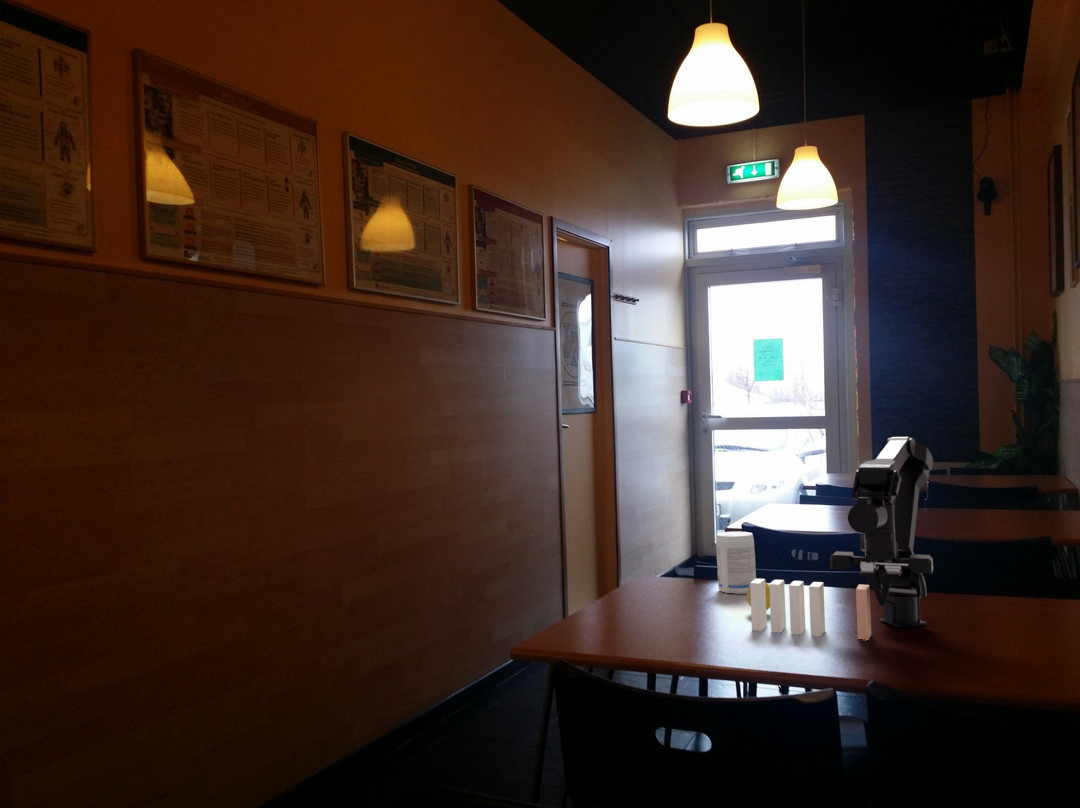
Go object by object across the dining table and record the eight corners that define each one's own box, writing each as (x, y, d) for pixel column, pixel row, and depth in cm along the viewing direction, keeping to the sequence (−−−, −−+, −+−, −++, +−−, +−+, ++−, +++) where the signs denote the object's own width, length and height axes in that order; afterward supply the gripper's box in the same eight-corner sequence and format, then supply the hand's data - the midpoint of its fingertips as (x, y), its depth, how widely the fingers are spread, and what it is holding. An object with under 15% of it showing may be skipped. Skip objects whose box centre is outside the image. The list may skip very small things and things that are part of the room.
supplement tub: (763, 590, 219) (761, 532, 219) (743, 596, 213) (741, 537, 213) (731, 585, 226) (729, 530, 226) (710, 592, 220) (708, 534, 220)
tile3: (805, 629, 180) (803, 581, 180) (800, 634, 175) (798, 585, 176) (795, 628, 181) (793, 580, 181) (790, 633, 176) (788, 585, 177)
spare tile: (871, 634, 174) (869, 585, 174) (868, 640, 169) (866, 589, 170) (860, 633, 175) (858, 584, 175) (857, 639, 170) (855, 589, 170)
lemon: (774, 617, 191) (772, 581, 191) (748, 616, 192) (747, 581, 192) (772, 611, 196) (771, 576, 196) (747, 611, 197) (746, 576, 197)
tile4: (786, 627, 182) (784, 580, 182) (780, 633, 177) (779, 584, 177) (776, 626, 183) (774, 579, 183) (771, 632, 178) (769, 584, 178)
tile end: (767, 625, 184) (765, 579, 184) (761, 631, 179) (759, 583, 179) (757, 625, 185) (755, 578, 185) (751, 630, 180) (750, 582, 180)
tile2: (825, 630, 178) (823, 582, 178) (821, 636, 174) (819, 587, 174) (815, 629, 179) (813, 581, 179) (810, 635, 175) (808, 586, 175)
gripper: (932, 523, 174) (935, 600, 173) (836, 520, 182) (839, 594, 182) (929, 530, 164) (933, 612, 164) (828, 527, 172) (831, 605, 172)
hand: (882, 605), depth 171 cm, fingers closed
